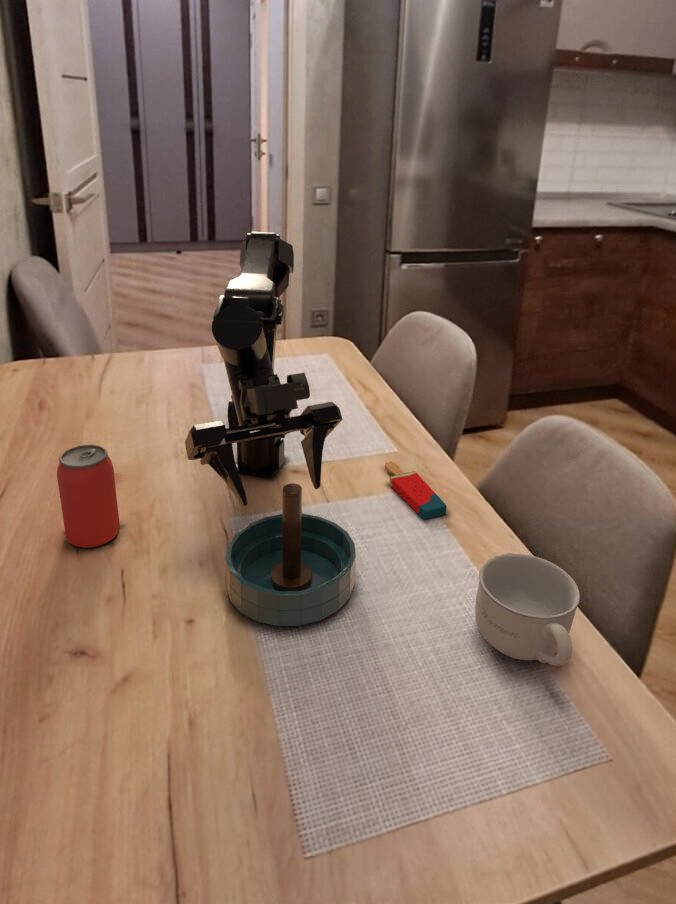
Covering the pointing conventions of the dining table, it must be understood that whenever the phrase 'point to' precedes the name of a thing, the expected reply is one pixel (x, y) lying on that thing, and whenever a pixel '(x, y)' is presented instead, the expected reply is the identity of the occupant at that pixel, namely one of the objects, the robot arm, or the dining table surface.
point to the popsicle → (416, 492)
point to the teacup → (526, 607)
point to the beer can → (88, 496)
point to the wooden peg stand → (291, 545)
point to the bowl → (262, 552)
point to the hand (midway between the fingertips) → (282, 496)
